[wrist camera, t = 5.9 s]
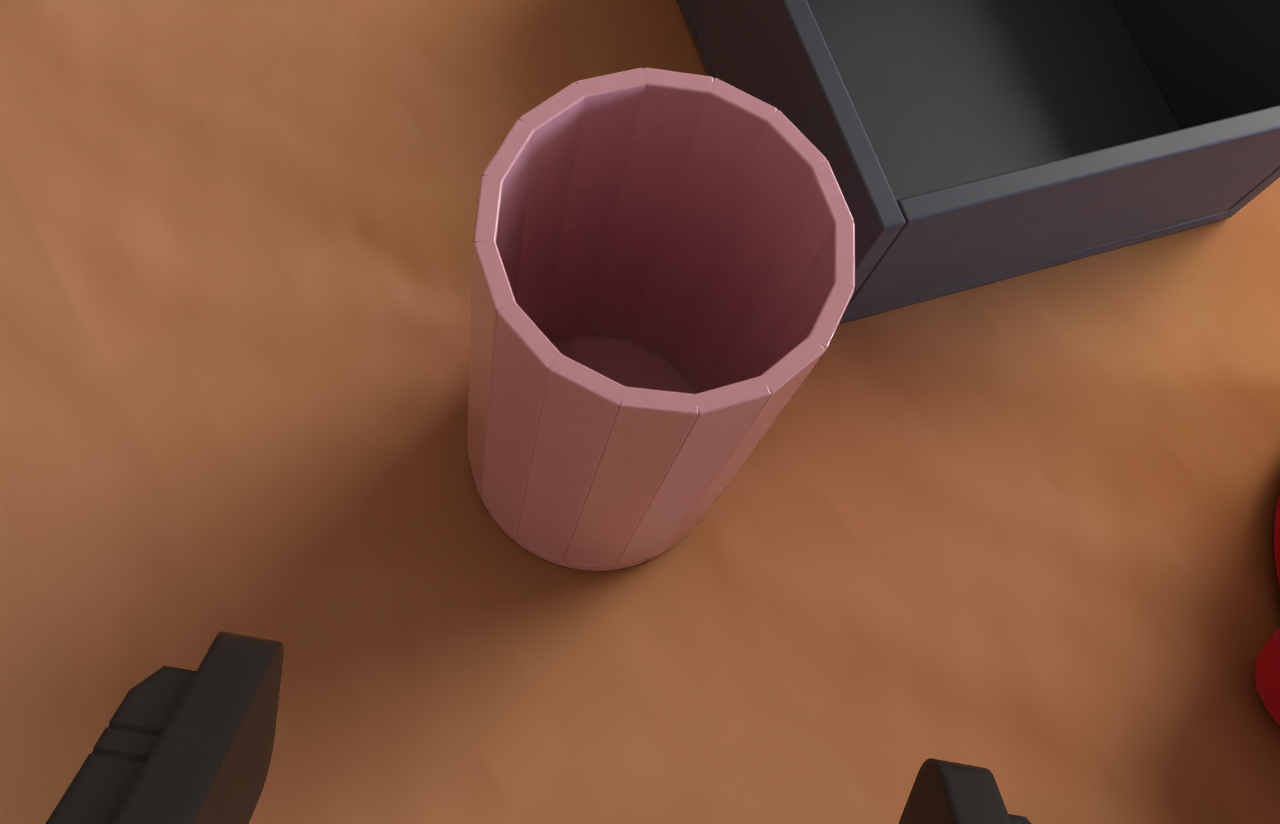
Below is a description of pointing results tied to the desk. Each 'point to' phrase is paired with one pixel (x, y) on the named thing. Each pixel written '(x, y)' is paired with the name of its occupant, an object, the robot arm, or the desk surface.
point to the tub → (1011, 123)
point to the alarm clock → (1271, 649)
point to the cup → (643, 307)
